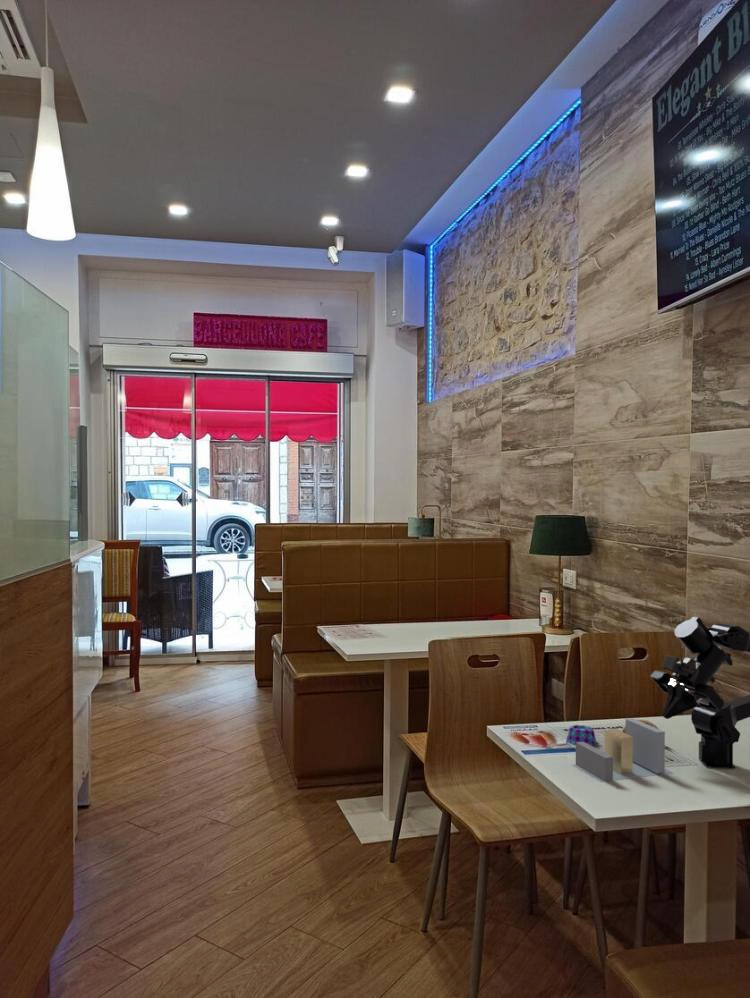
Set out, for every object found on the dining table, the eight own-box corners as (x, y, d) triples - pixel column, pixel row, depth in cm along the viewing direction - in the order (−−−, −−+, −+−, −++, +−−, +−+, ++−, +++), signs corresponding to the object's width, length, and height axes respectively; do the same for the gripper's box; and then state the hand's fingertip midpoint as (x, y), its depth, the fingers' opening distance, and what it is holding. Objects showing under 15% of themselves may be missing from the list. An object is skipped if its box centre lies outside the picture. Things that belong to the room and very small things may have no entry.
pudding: (611, 746, 189) (611, 725, 189) (599, 759, 179) (599, 737, 179) (564, 738, 195) (564, 718, 195) (550, 751, 185) (550, 729, 185)
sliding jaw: (632, 756, 174) (632, 718, 175) (664, 772, 164) (664, 731, 164) (625, 757, 174) (625, 719, 174) (657, 773, 163) (657, 732, 164)
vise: (641, 763, 175) (641, 735, 175) (673, 779, 165) (673, 750, 165) (571, 771, 169) (571, 742, 169) (600, 788, 159) (601, 758, 159)
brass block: (615, 764, 170) (615, 729, 170) (632, 773, 164) (632, 736, 164) (604, 765, 169) (604, 730, 169) (621, 774, 163) (621, 738, 164)
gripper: (656, 636, 182) (618, 685, 178) (713, 650, 164) (672, 704, 160) (683, 667, 184) (645, 715, 180) (742, 684, 166) (702, 738, 163)
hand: (664, 717), depth 171 cm, fingers closed
